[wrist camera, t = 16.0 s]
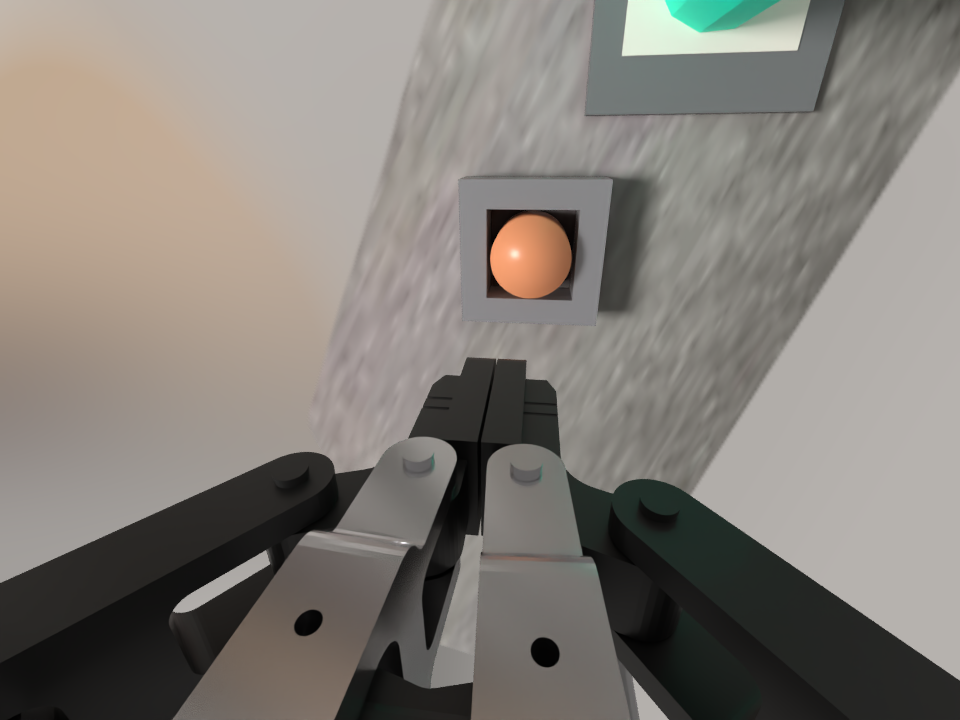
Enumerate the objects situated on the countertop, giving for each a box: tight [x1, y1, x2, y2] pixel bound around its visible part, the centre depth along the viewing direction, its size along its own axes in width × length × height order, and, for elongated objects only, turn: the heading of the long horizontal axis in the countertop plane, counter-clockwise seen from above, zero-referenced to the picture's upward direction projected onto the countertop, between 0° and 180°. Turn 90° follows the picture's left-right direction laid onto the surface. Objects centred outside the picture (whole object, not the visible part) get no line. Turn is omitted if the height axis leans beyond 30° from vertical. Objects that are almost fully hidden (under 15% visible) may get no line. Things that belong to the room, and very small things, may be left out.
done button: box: [490, 210, 572, 298], centre depth 25 cm, size 4×4×3 cm
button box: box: [458, 177, 613, 326], centre depth 25 cm, size 8×8×2 cm
